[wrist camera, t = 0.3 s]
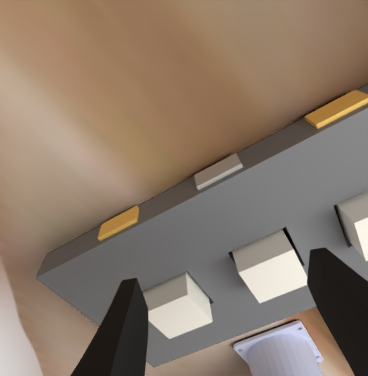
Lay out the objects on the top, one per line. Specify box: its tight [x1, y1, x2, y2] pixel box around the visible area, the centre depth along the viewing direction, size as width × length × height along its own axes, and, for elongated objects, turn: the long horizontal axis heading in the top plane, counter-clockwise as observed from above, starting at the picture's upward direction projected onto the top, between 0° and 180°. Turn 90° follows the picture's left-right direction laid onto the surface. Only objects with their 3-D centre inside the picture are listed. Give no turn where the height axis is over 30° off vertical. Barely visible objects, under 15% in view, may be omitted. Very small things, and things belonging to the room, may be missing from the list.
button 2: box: [143, 271, 213, 339], centre depth 22 cm, size 4×4×2 cm
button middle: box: [232, 229, 307, 303], centre depth 21 cm, size 4×4×2 cm
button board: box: [36, 84, 368, 367], centre depth 22 cm, size 16×31×2 cm, turn 120°
